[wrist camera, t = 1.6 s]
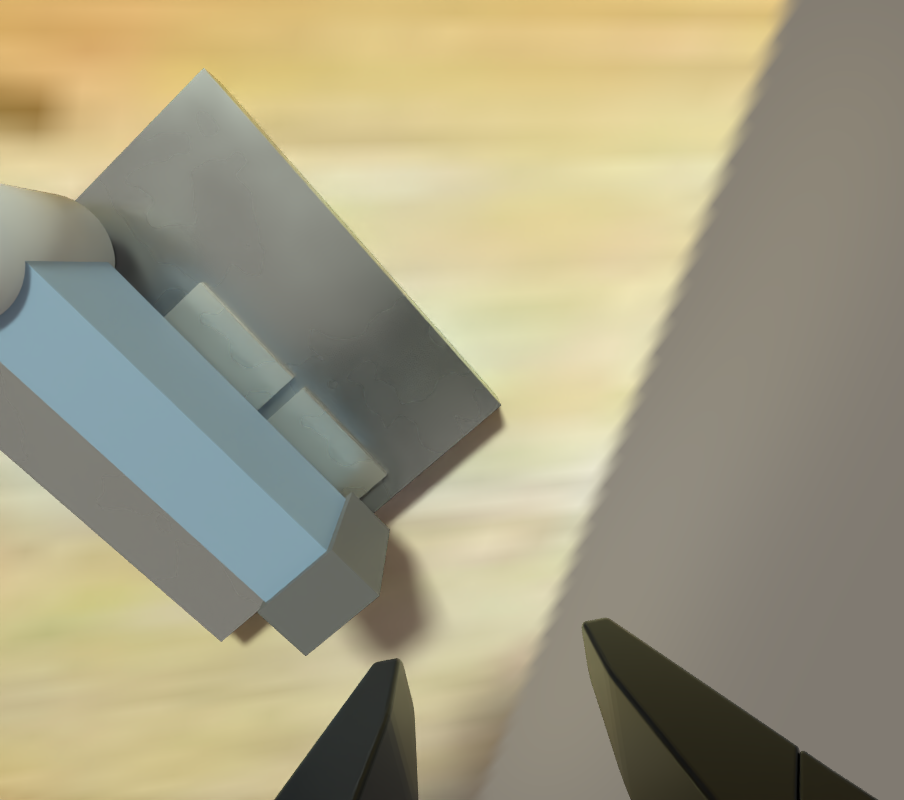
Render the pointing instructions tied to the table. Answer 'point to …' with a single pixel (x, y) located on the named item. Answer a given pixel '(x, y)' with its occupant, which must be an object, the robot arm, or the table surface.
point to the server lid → (251, 338)
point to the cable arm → (177, 422)
